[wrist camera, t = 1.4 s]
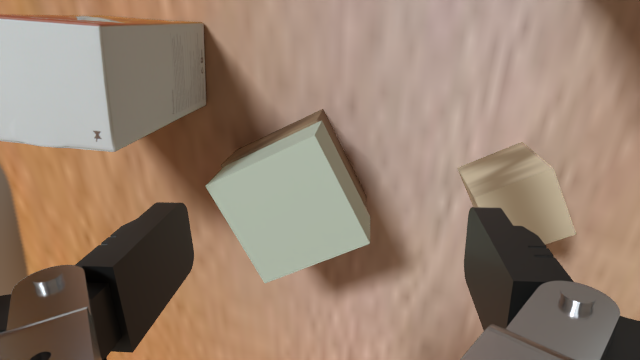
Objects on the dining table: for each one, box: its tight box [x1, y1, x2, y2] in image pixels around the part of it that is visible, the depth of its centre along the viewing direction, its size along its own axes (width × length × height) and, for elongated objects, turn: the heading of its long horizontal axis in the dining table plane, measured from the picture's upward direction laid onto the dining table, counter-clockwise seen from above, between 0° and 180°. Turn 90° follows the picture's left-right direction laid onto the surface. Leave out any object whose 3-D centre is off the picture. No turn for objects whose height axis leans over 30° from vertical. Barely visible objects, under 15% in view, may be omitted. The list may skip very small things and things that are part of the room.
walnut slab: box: [221, 109, 366, 207], centre depth 33 cm, size 8×8×4 cm
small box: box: [0, 15, 206, 152], centre depth 27 cm, size 8×6×13 cm
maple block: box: [458, 142, 576, 245], centre depth 31 cm, size 5×5×6 cm
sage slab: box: [206, 120, 370, 283], centre depth 30 cm, size 8×8×4 cm
